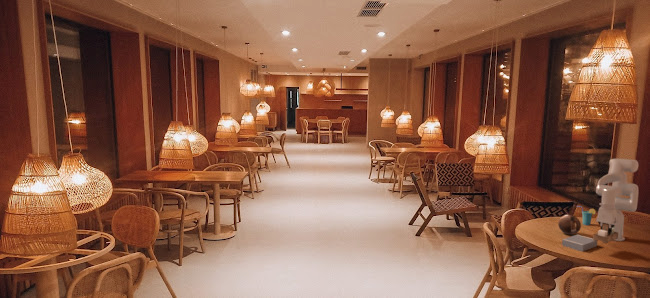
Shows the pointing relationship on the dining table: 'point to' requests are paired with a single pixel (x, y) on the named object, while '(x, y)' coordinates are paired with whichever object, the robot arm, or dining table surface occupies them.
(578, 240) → the block
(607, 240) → the wooden caddy
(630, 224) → the dining table surface
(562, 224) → the wooden sphere
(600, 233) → the crate white
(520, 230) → the dining table surface
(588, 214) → the cup
